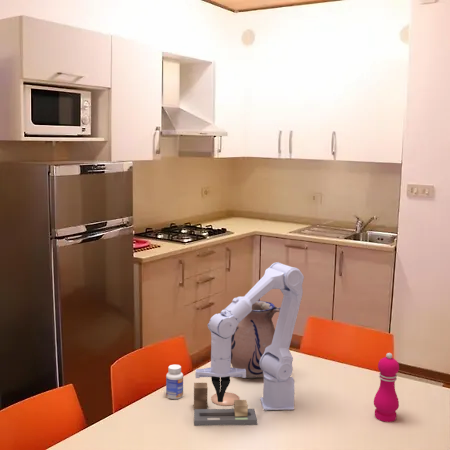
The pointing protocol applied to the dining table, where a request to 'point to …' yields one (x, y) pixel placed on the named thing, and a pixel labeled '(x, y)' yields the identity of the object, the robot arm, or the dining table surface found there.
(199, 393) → the block
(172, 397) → the pill bottle
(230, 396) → the coaster
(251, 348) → the ceramic pitcher
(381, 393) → the pepper mill
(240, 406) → the switch tab
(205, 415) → the switch panel
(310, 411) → the dining table surface
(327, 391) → the dining table surface
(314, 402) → the dining table surface
